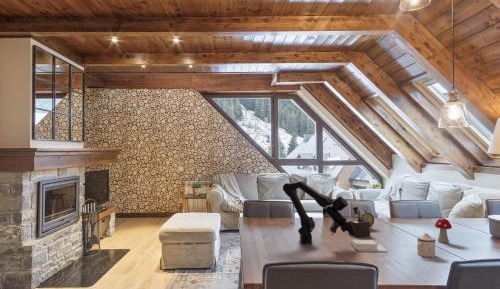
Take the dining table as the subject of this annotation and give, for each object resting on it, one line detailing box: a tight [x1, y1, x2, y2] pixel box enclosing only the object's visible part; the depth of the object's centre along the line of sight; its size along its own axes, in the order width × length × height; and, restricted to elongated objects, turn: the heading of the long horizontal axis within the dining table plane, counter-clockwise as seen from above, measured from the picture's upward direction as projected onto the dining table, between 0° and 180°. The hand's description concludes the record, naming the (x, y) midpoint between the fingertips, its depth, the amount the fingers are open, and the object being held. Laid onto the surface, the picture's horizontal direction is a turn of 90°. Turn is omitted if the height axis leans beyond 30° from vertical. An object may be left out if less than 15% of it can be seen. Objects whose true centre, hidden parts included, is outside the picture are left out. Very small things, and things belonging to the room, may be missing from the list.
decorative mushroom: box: [434, 217, 453, 245], centre depth 227 cm, size 10×9×15 cm
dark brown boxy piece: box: [348, 206, 371, 238], centre depth 248 cm, size 16×11×18 cm
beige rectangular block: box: [351, 239, 378, 250], centre depth 211 cm, size 3×10×12 cm
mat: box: [356, 244, 388, 253], centre depth 211 cm, size 16×14×1 cm
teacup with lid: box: [416, 233, 436, 258], centre depth 197 cm, size 12×9×12 cm
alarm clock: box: [360, 206, 375, 229], centre depth 266 cm, size 11×5×16 cm, turn 105°
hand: (353, 234), depth 211 cm, fingers closed
